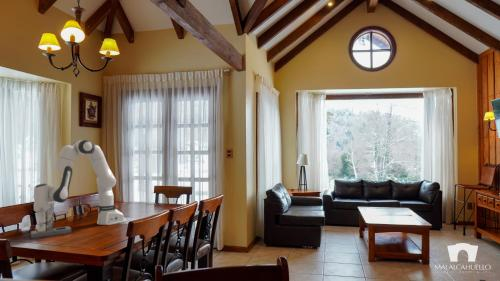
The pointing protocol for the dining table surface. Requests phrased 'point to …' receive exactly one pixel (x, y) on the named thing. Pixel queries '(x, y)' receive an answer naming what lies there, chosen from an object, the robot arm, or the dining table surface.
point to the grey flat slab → (51, 232)
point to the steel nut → (40, 229)
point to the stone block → (49, 216)
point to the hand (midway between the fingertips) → (41, 227)
